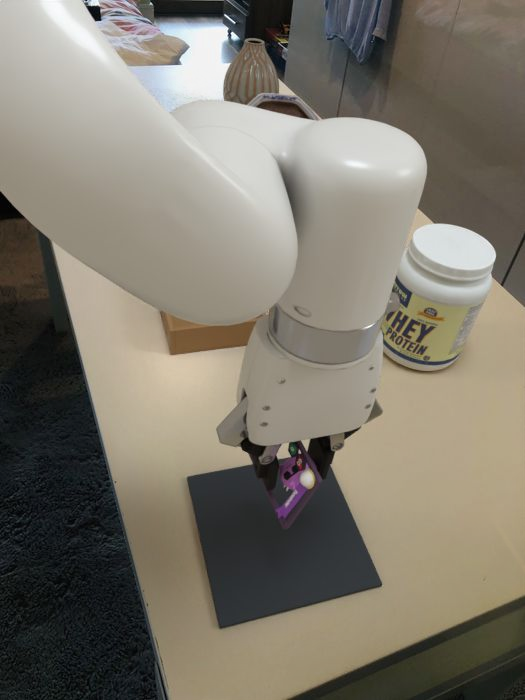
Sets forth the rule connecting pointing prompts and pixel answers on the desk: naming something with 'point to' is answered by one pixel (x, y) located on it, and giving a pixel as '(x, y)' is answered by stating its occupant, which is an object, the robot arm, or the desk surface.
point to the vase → (250, 74)
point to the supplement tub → (437, 296)
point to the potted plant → (283, 105)
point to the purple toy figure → (295, 482)
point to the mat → (276, 546)
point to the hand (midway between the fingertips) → (291, 470)
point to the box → (204, 334)
